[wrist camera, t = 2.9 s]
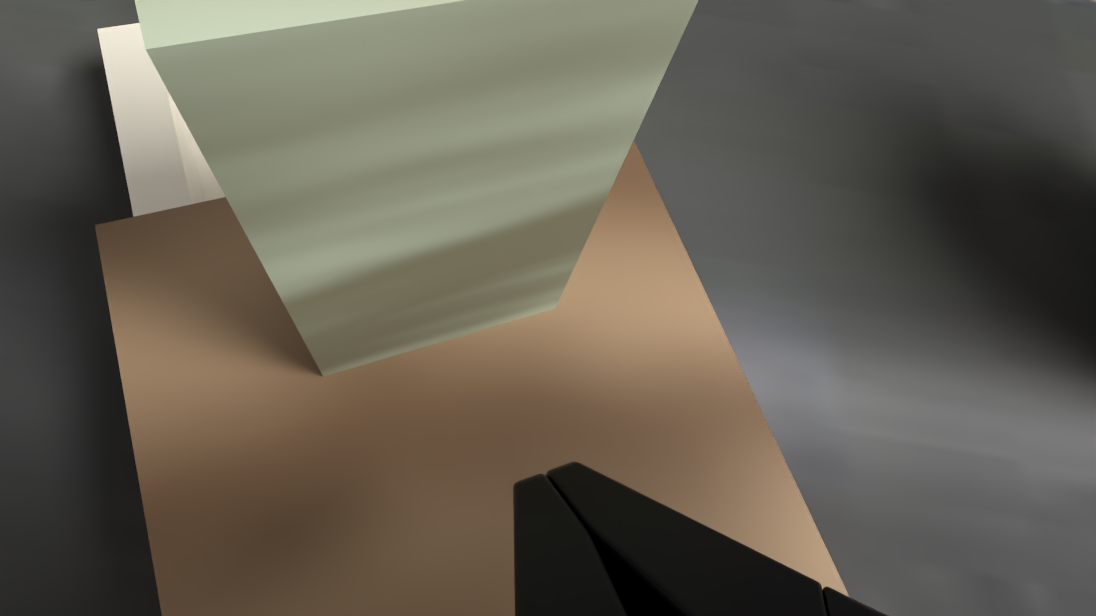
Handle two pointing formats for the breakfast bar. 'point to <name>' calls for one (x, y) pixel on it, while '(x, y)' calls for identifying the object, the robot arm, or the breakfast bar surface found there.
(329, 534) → the lid board
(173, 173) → the cream dish
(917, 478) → the breakfast bar surface
